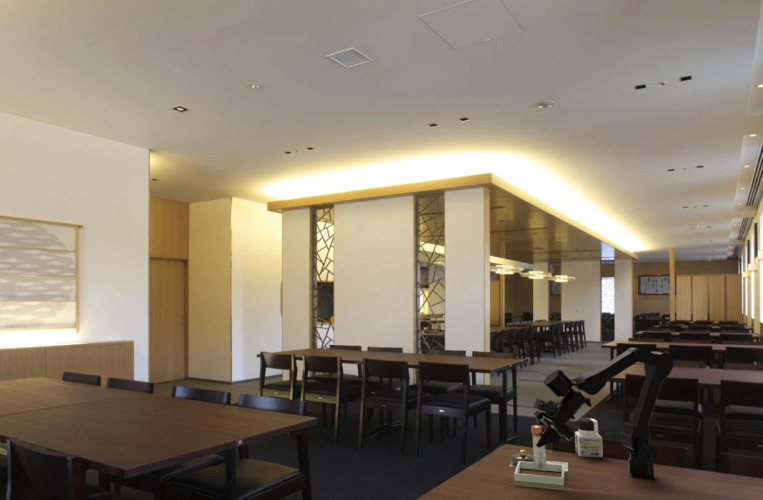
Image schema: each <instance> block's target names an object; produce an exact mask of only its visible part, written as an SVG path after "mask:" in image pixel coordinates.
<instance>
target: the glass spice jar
mask: <svg viewBox="0 0 763 500" xmlns="http://www.w3.org/2000/svg"><path fill="white" fill-rule="evenodd" d="M530 429H531V434H532V439H533V443H532V448H533V450H532V451H533V452H532V454H533V456H534V467H535V468H546V461H547V458H546V456H547V455H546V445H544V446H542V447H539V448H538V447H537V446H536V444H537V442H538V441H539V439H540V438H541V436H542V435H543V433H544V432H545V430H546V428H545V426H541V425H538V424H535V425H531V428H530Z"/></svg>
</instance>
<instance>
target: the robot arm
mask: <svg viewBox="0 0 763 500" xmlns="http://www.w3.org/2000/svg"><path fill="white" fill-rule="evenodd" d="M637 363H642V364H644V365H643V368H644V374H645V378H644V382H643V385H642V387H641V390H640V394H639V397H638V400H637V403H636V407H635V410H634V412H633V416H632V418H631V420H630V421H629V422H625V421H624V422H622V423H623V424H622V427H621V431H620V432H619V433H618V434H619V435H620V442H621V444H622V445H623V446H624V447H625V450H626V452H627V453H629V457H628V459H627V460H628V472H629V474H631V475H630V476H631V477H632V478H638V479H639V478H640V479H650V480H655V479H656V476H655V468H654V459H655V460H656V459H657V456H658V451H657V449H656V448H654V447H653V446H652V444H651V443H650V439H651V433H650V428H649V427H650V426H649V425H650V421H651V419H652V416H653V413H654V409H655V405H656V402H657V399H658V397H659V393H660V390H661V386H662V385H663V382H664V381H665V380H666V379H667V378H668V377H669V376H670V374H671V372H672V370H673V368H674V366H675V360H674V358H673V357H672V355H671V354H669V353H667V352H666V353H665V352H660V351H646V350H642V349H641V348H636V347H630V348H627V349H626V351H624V352H622V353H621V354H619V355H618V356H616V357H615V358H612V359H611V360H610V361H608V362H607V363H605V364H604V365H602V366H600V367H599V368H596V369H593V370H590V371H587V372H584V373H581V374H579V375H578V376H576V378H569V377H568V376H567V375H566V374H565V373H564V372H563V371H562V370H561V369H557V368H556V370H555V371H553V372H551V373H550V374H548V375H547V376H546V377H545V378H544V379H543V384H544V386H545V387H547V388H548V390H550V391H551V392H552V393H553V395H555V397H557V398H560V397H562V398H561V399H560V401H558V402H555V401H553V400H550V399H546V401H545V400H543V399H541V398H538V397H536V399H535V401H534V404H533V408H534V409H537V410H536V411H535V412H534V413H533V415H532V416H534V417H535V419H536V421H537V425H541V426H545V428H546V430H545V432H544V433H543V435H542V436H541V438H540V439H539V441H538V442H537V444H536V446H537V447H538V448H539V447H542V446H544V445H545V446H547V445H549V444H552V443H554V442H557V441H560V440H564V438H565V440H567V441H571V440H572V439H573V438H574V437H575V433H574V431H573V430H572V429H571V428H570V426H568V425H567V424H568V423H569V422H570V421H571V420H573V421H574V420H575V419H576V416H575V415H576V414H577V413H578V411H579V410H580V409H581V408H582V407H583V406H586V407H588V408H592V402H591V400H592V399H591V397H588V396H585V395H584V394H586V395H589V396H594V395H595V396H596V395H597V394H599V393H600V391H602V390H603V389H604V388H605V387H606V385H607V384H608V382H609V381H610V380H612V379H613V378H615V377H616V376H618V375H619V374H620V373H622V372H624V371H626V370H627V369H628V368H629V369H630V367H632V366H633V365H634V364H637ZM575 389H577V390H575ZM563 436H564V438H563ZM530 442H531V443H532V444H533V438H532V439H531V441H530Z"/></svg>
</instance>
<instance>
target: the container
mask: <svg viewBox="0 0 763 500" xmlns="http://www.w3.org/2000/svg"><path fill="white" fill-rule="evenodd" d="M598 425H599V424H598V420H597V419H594V418H591V417H581V418H578V419H577V429H578V430H577V431H574V439H575V440H574V443H575V453H576V454H577V455H578V456H579V457H583V458H586V457H587V458H588V457H590V458H603V457H604V453H603V452H604V450H603V437H602V436H601V435H600V434H599V426H598Z"/></svg>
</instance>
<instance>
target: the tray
mask: <svg viewBox="0 0 763 500" xmlns="http://www.w3.org/2000/svg"><path fill="white" fill-rule="evenodd" d="M521 469H523V470H526V469H527V470H537V471H548V472H557V473H561V476H552V475H551V476H550V475H540V474H538V475H537V474H529V473H520V471H521ZM513 474H514V476H513V477H514V485H522V486H531V487H532V486H533V487H541V488H551V489H561V490H564V489H565V471H564V465H559V464H548V463H546V468H535V467H534V462H524V461H518V464H517V467H515V471H514V473H513Z"/></svg>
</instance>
